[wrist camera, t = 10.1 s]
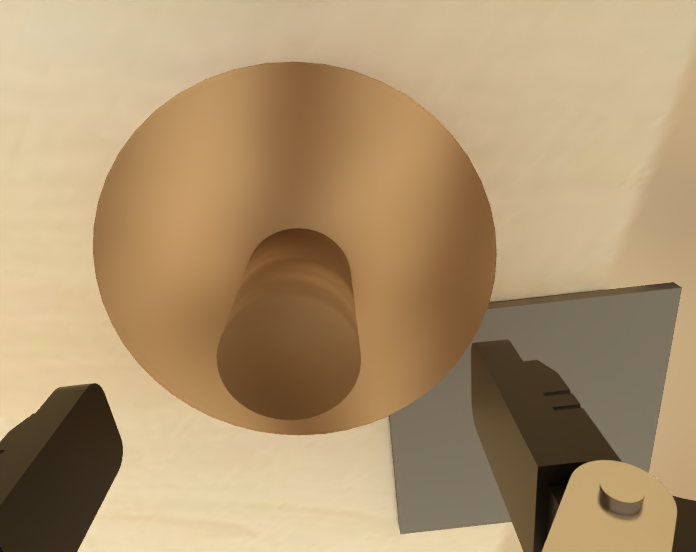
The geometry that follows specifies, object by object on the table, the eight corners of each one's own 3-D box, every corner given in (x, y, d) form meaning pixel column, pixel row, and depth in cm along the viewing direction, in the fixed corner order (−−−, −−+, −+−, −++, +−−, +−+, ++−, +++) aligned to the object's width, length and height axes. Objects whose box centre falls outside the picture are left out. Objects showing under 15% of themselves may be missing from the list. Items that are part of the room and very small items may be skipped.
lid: (487, 36, 15) (584, 25, 9) (487, 397, 20) (549, 526, 14) (48, 89, 15) (-113, 108, 9) (162, 435, 20) (100, 578, 15)
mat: (673, 282, 24) (681, 287, 23) (636, 498, 30) (642, 507, 29) (380, 315, 24) (381, 321, 23) (399, 525, 30) (400, 534, 29)
